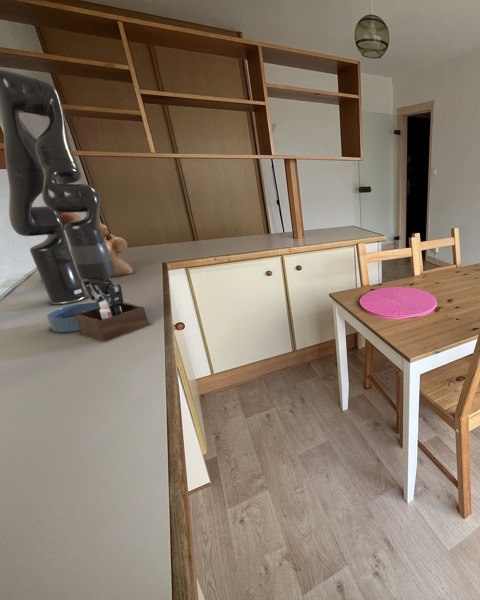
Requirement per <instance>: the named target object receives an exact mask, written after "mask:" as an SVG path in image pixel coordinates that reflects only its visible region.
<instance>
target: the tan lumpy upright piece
mask: <svg viewBox="0 0 480 600" xmlns="http://www.w3.org/2000/svg"><path fill="white" fill-rule="evenodd" d="M57 213H58V212H57ZM58 215H59V216H60V219H61V222H62V225H63V228H64V225H65V224H67V223H70V222H74V221H78V220H82V219H84V218H85V217H80V216H78V215H77V213H76V212H70V213H58ZM100 227H101V231H102V235H103V238H104V241H105V244H106V246H107V248H108V250H109V253H110V256H111V259H112V262H113V265H114V269H115V272H116V273H115V274H114V275H112V276H111V278H113V277H119V276H124V275H130V274H133V273H134V269H133V268H132V266H131V265H130V264H129V263H128V262H126V261H124V260H123V259H121V257H119V256H118V255H119V254H121V253H123V252H125V251H126V250H127V248H128V243H127V241H126V240H125V238H123V237H120V236H115V235H114V234H112V233H109V230H108V226H107V225H106V224H104V223H102V222H100ZM64 231H65V229H64ZM107 236H109V237H107ZM106 237H107V238H106Z"/></svg>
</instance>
